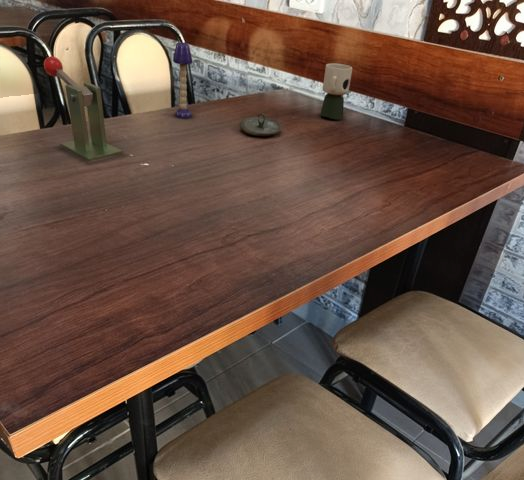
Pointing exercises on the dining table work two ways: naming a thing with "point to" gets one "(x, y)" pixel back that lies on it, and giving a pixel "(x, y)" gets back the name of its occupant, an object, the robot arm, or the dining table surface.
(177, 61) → the toy lamp
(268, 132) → the lid
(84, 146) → the stand
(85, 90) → the lever
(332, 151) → the dining table surface
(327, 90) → the character mug
